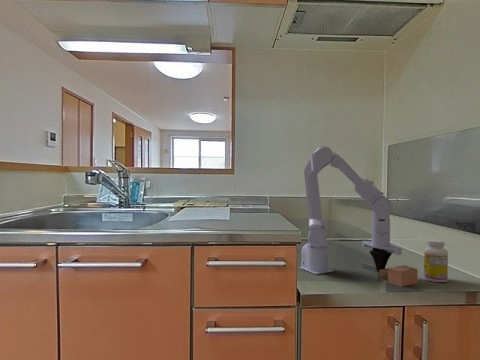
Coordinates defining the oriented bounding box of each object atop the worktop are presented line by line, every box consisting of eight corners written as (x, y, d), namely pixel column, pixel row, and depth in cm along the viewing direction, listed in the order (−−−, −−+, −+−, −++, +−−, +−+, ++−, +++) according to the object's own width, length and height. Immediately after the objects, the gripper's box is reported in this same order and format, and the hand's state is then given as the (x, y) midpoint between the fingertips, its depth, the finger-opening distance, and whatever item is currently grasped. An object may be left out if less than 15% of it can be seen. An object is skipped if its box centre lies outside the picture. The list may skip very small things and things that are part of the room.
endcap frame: (349, 269, 120) (349, 257, 120) (364, 266, 123) (364, 254, 123) (401, 286, 101) (401, 272, 101) (417, 283, 104) (417, 268, 104)
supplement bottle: (426, 275, 112) (426, 237, 112) (449, 279, 108) (449, 240, 108) (422, 280, 107) (422, 240, 107) (446, 284, 103) (446, 243, 103)
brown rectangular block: (379, 278, 110) (379, 269, 110) (387, 277, 112) (387, 268, 111) (400, 286, 103) (400, 276, 103) (408, 284, 104) (409, 274, 104)
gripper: (408, 234, 107) (407, 275, 107) (371, 227, 120) (371, 265, 120) (393, 235, 104) (392, 278, 104) (357, 229, 117) (357, 267, 117)
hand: (380, 271), depth 112 cm, fingers closed
